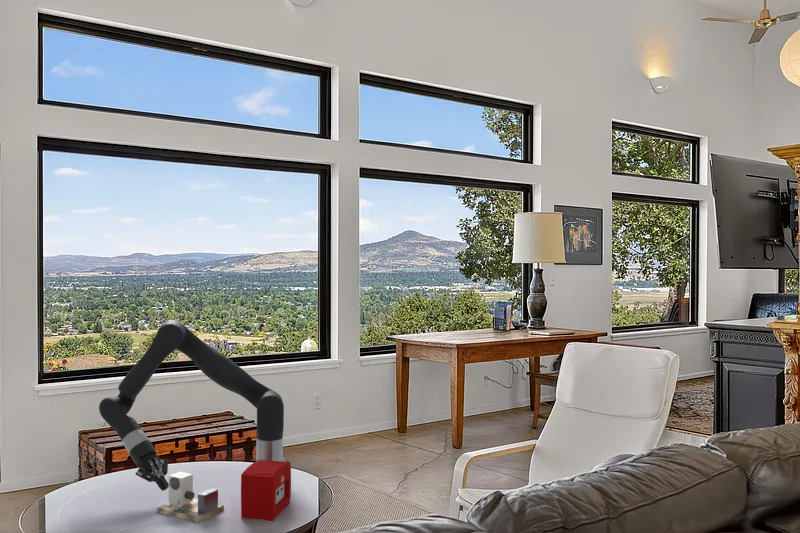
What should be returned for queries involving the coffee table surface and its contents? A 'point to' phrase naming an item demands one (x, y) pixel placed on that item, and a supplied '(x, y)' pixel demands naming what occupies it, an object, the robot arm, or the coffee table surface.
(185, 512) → the gauge stand
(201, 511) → the grey metal square plate
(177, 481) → the block
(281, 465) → the fire alarm
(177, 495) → the grey metal lever
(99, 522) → the coffee table surface
